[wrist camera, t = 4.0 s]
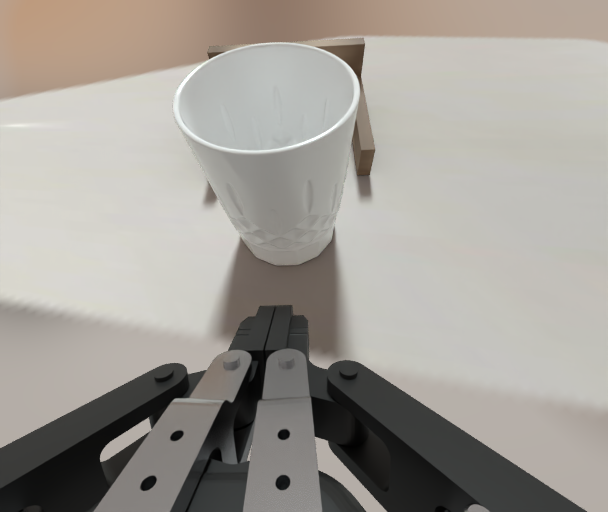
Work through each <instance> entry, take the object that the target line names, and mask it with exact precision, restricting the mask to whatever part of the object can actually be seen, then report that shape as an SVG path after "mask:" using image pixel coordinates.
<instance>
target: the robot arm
mask: <svg viewBox="0 0 608 512" xmlns="http://www.w3.org/2000/svg"><path fill="white" fill-rule="evenodd" d="M148 417H149V420H150V424H151V429H152V430H151V431H150V432H149V433H147V434H146V435H144V436H142V437H141V438H140V439H138V440H136V441H135V442H134V443H132V444H131V445H129V446H128V447H126V448H125V449H123V450H122V451H120V452H119V453H117V454H116V455H114V456H113V457H111V458H110V459H108V460H106V461H103V462H100V454H101V452H102V450H103V449H104V447H105V446H106V445H107V444H108V443H109V442H110V441H112V440H113V439H115V438H117V437H118V436H120V435H121V434H123V433H124V432H126V431H128V430H129V429H131V428H132V427H134V426H135V425H137V424H139V423H140V422H142V421H143V420H145V419H147V418H148ZM315 437H318V438H321V439H325V440H328V443H329V447H330V449H331V450H332V452H333V453H334V454H335V455H336V456H337V457H338V458H339V459H340V461H341V462H342V463H343V464H344V465H345V466H346V467H347V468H348V469H349V470H350V471H351V473H352V474H353V475H354V476H355V477H356V478H357V479H358V480H359V481H360V482H361V483H362V485H364V487H365V488H366V489H367V490H368V491H369V492H370V493H371V494H372V495H373V496H374V498H375V499H376V500H377V501H378V502H379V503H380V504H381V505H382V506H383V507H384V509H385V510H386V511H387V512H587V511H585V510H584V509H582V508H581V507H579V506H577V505H576V504H574V503H573V502H571V501H570V500H568V499H567V498H565V497H564V496H562V495H561V494H559V493H558V492H556V491H554V490H553V489H551V488H550V487H549V486H547V485H545V484H544V483H542V482H541V481H539V480H538V479H536V478H535V477H533V476H532V475H530V474H529V473H527V472H526V471H524V470H522V469H521V468H520V467H518V466H516V465H515V464H513V463H512V462H510V461H509V460H507V459H506V458H504V457H502V456H501V455H500V454H498V453H496V452H495V451H494V450H492V449H490V448H489V447H487V446H486V445H484V444H483V443H481V442H480V441H478V440H477V439H475V438H474V437H472V436H471V435H469V434H468V433H466V432H465V431H463V430H461V429H460V428H458V427H457V426H455V425H454V424H452V423H451V422H449V421H447V420H446V419H445V418H443V417H441V416H440V415H439V414H437V413H435V412H434V411H432V410H431V409H429V408H428V407H426V406H425V405H423V404H422V403H420V402H419V401H417V400H416V399H414V398H413V397H411V396H410V395H408V394H406V393H405V392H403V391H402V390H400V389H399V388H397V387H396V386H394V385H393V384H391V383H390V382H388V381H387V380H385V379H384V378H382V377H380V376H379V375H377V374H376V373H374V372H373V371H371V370H370V369H368V368H367V367H365V366H364V365H362V364H360V363H358V362H355V361H348V360H344V361H338V362H336V363H334V364H332V365H331V366H330V367H329V368H328V370H327V369H322V368H319V367H317V366H315V365H313V364H312V363H311V362H310V361H309V339H308V321H307V319H306V318H305V317H304V316H303V315H298V316H293V307H292V305H279V306H260V307H259V309H258V312H257V315H256V317H248V318H246V319H245V320H244V321H243V322H241V324H240V326H239V328H238V330H237V333H236V336H235V337H234V339H233V341H232V343H231V345H230V347H229V350H228V351H227V352H224V353H222V354H220V355H218V356H217V357H216V358H215V359H214V360H213V362H212V363H211V364H210V366H209V367H208V369H207V370H204V371H200V372H197V373H192V374H188V373H187V369H186V367H185V366H184V365H182V364H179V363H170V364H165V365H162V366H159V367H157V368H155V369H153V370H151V371H149V372H147V373H145V374H143V375H142V376H139V377H137V378H135V379H134V380H132V381H130V382H128V383H126V384H124V385H122V386H120V387H118V388H116V389H114V390H112V391H111V392H108V393H106V394H105V395H103V396H101V397H99V398H97V399H95V400H93V401H91V402H89V403H87V404H85V405H83V406H81V407H79V408H78V409H76V410H74V411H72V412H70V413H68V414H66V415H64V416H62V417H60V418H58V419H56V420H54V421H52V422H50V423H49V424H46V425H45V426H43V427H41V428H39V429H37V430H35V431H33V432H31V433H29V434H27V435H25V436H23V437H21V438H20V439H17V440H16V441H14V442H12V443H10V444H8V445H6V446H4V447H2V448H0V512H366V511H365V510H364V508H363V507H362V506H361V505H360V503H359V502H358V501H357V500H356V498H355V497H354V496H353V495H352V494H351V493H350V492H349V491H348V490H347V489H346V488H345V487H344V486H343V485H342V484H341V483H339V482H338V481H337V480H335V479H334V478H332V477H331V476H329V475H327V474H325V473H323V472H321V471H319V470H318V464H317V454H316V444H315ZM251 444H252V449H251V456H250V461H247V458H248V454H249V451H250V448H251Z"/></svg>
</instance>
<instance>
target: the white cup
mask: <svg viewBox="0 0 608 512" xmlns="http://www.w3.org/2000/svg"><path fill="white" fill-rule="evenodd" d="M359 98H360V85H359V81H358V78H357V76H356V74H355V73H354V71H353V70H352V68H351V67H350V66H349V65H348V64H347V63H346V62H344V61H343V60H342V59H340V58H339V57H337V56H336V55H334V54H332V53H330V52H328V51H325V50H323V49H320V48H316V47H313V46H309V45H303V44H297V43H280V42H279V43H262V44H254V45H249V46H244V47H240V48H236V49H233V50H230V51H227V52H224V53H222V54H219V55H217V56H215V57H213V58H211V59H209V60H207V61H205V62H204V63H202V64H201V65H199V66H198V67H196V68H195V69H194V70H193V71H191V72H190V73H189V74H188V75H187V76H186V77H185V78H184V80H183V81H182V82H181V83H180V85H179V87H178V88H177V90H176V92H175V95H174V98H173V104H172V110H173V116H174V119H175V121H176V123H177V125H178V127H179V129H180V131H181V132H182V134H183V136H184V138H185V140H186V141H187V143H188V145H189V147H190V149H191V151H192V152H193V154H194V156H195V158H196V160H197V162H198V163H199V165H200V167H201V169H202V171H203V173H204V174H205V176H206V178H207V180H208V182H209V184H210V185H211V187H212V189H213V191H214V193H215V195H216V196H217V198H218V200H219V202H220V204H221V205H222V207H223V209H224V210H225V212H226V213H227V215H228V217H229V219H230V220H231V222H232V224H233V225H234V227H235V228H236V230H237V231H238V232H239V234H240V236H241V238H242V240H243V242H244V243H245V244H246V246H247V247H248V248H249V249H250V250H251V252H252V253H253V254H254V255H255V256H256V257H257V258H259V259H261V260H264V261H266V262H268V263H271V264H273V265H276V266H279V265H299V264H302V263H304V262H306V261H308V260H310V259H313V258H315V257H317V256H319V254H320V253H321V252H322V251H323V250H324V249H325V247H326V246H327V245H328V244H329V243H330V242H331V240H332V235H333V230H334V226H335V220H336V215H337V212H338V211H339V208H340V202H341V198H342V194H343V188H344V182H345V179H346V174H347V168H348V161H349V155H350V149H351V143H352V137H353V133H354V127H355V121H356V115H357V109H358V104H359Z"/></svg>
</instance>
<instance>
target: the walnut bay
mask: <svg viewBox="0 0 608 512" xmlns="http://www.w3.org/2000/svg"><path fill="white" fill-rule="evenodd" d="M282 43H297V44H303V45H309V46H313V47H316V48H320V49H323V50H325V51H328V52H330V53H332V54H334V55H336V56H337V57H339V58H340V59H342V60H343V61H344V62H346V63H347V64H348V65H349V66H350V67H351V68H352V70H353V71H354V73H355V74H356V76H357V78H358V81H359V85H360V98H359V104H358V109H357V115H356V121H355V127H354V133H353V137H352V142H353V149H354V156H355V163H356V170H357V175H370V171H371V166H372V162H373V157H374V153H375V146H374V141H373V136H372V130H371V125H370V120H369V115H368V110H367V105H366V100H365V95H364V89H363V84H362V79H361V71H362V63H363V56H364V48H365V42H364V38H353V39H335V40H317V41H300V42H282ZM249 45H254V44H247V45H228V46H210V47H209V49H208V52H207V53H208V56H209V59H211V58H213V57H215V56H217V55H219V54H222V53H224V52H227V51H230V50H233V49H236V48H240V47H244V46H249Z"/></svg>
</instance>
